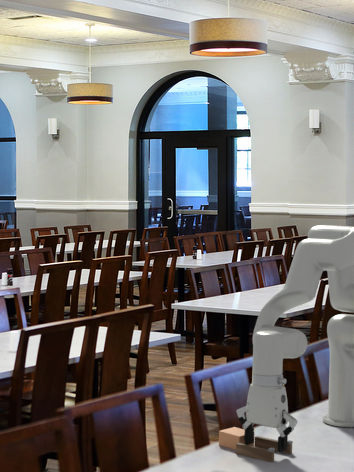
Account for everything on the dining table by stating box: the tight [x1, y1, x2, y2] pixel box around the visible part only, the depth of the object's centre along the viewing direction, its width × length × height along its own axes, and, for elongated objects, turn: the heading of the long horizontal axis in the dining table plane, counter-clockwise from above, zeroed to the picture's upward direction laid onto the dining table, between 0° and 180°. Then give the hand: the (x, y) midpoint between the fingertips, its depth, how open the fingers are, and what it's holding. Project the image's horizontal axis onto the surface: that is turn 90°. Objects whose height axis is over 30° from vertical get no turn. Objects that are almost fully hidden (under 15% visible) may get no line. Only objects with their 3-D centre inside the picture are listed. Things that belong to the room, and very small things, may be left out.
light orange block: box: [218, 426, 255, 451], centre depth 224 cm, size 6×7×4 cm
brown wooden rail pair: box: [235, 435, 294, 463], centre depth 217 cm, size 10×10×3 cm
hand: (265, 447), depth 217 cm, fingers open, 9 cm apart
